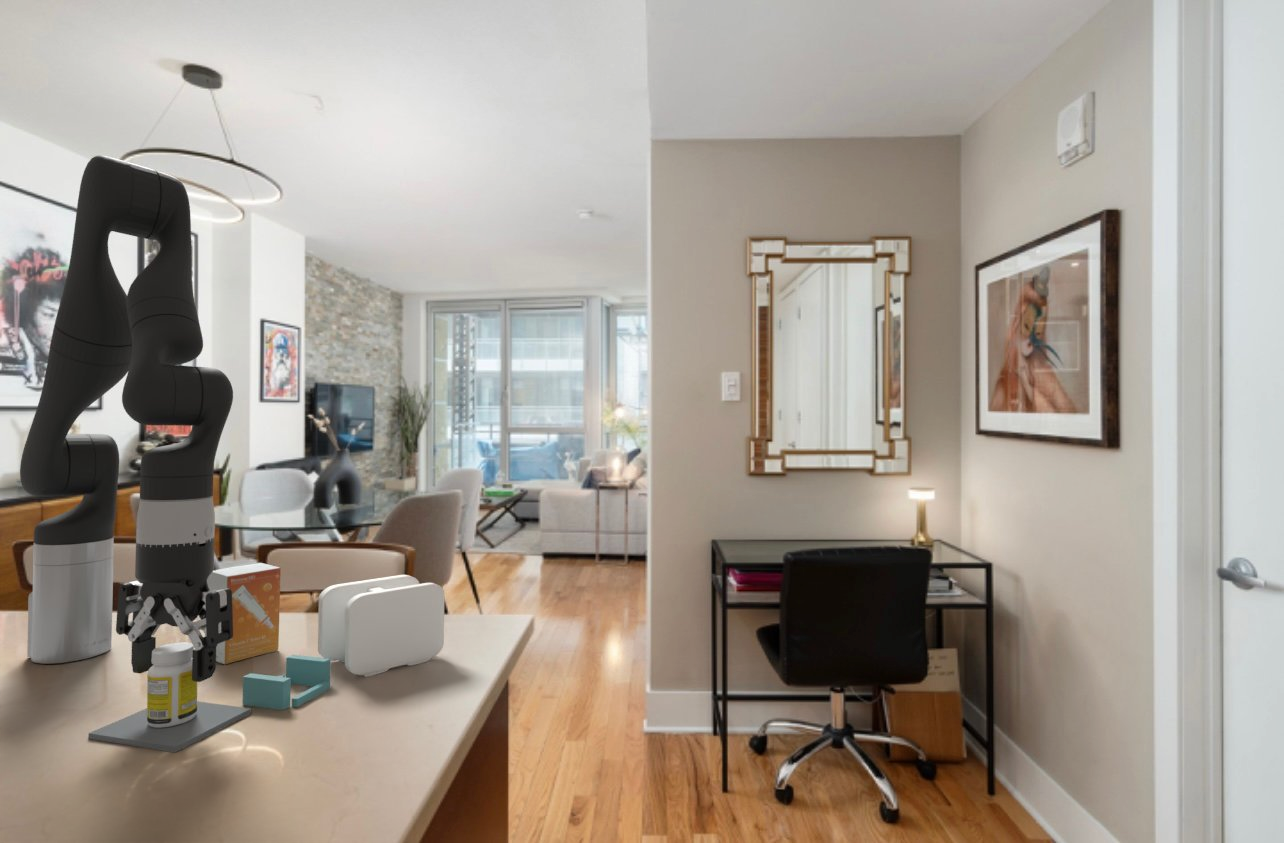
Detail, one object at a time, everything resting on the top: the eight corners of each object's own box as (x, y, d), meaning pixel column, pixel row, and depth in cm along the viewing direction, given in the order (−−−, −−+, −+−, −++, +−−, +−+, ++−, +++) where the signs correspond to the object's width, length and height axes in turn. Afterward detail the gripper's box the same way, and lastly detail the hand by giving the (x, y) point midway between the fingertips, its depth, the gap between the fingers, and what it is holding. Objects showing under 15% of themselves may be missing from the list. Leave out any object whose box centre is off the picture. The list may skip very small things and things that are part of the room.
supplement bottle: (195, 707, 81) (196, 638, 81) (199, 721, 77) (200, 648, 77) (145, 718, 78) (147, 646, 78) (147, 733, 74) (148, 657, 74)
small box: (224, 666, 96) (226, 576, 97) (203, 657, 100) (205, 570, 100) (280, 650, 103) (281, 566, 103) (258, 642, 107) (260, 561, 107)
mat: (88, 738, 74) (88, 733, 74) (171, 702, 84) (171, 697, 84) (175, 752, 71) (175, 746, 71) (250, 713, 81) (250, 708, 81)
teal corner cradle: (235, 703, 83) (236, 675, 83) (286, 679, 92) (286, 653, 92) (289, 711, 82) (290, 682, 82) (336, 685, 90) (336, 659, 90)
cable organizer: (342, 684, 90) (343, 599, 90) (315, 663, 98) (317, 585, 98) (444, 659, 101) (445, 582, 101) (413, 642, 108) (414, 570, 108)
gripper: (95, 537, 76) (92, 680, 75) (197, 545, 72) (194, 695, 72) (157, 528, 83) (154, 658, 83) (253, 534, 79) (250, 670, 79)
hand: (173, 675), depth 77 cm, fingers open, 8 cm apart
